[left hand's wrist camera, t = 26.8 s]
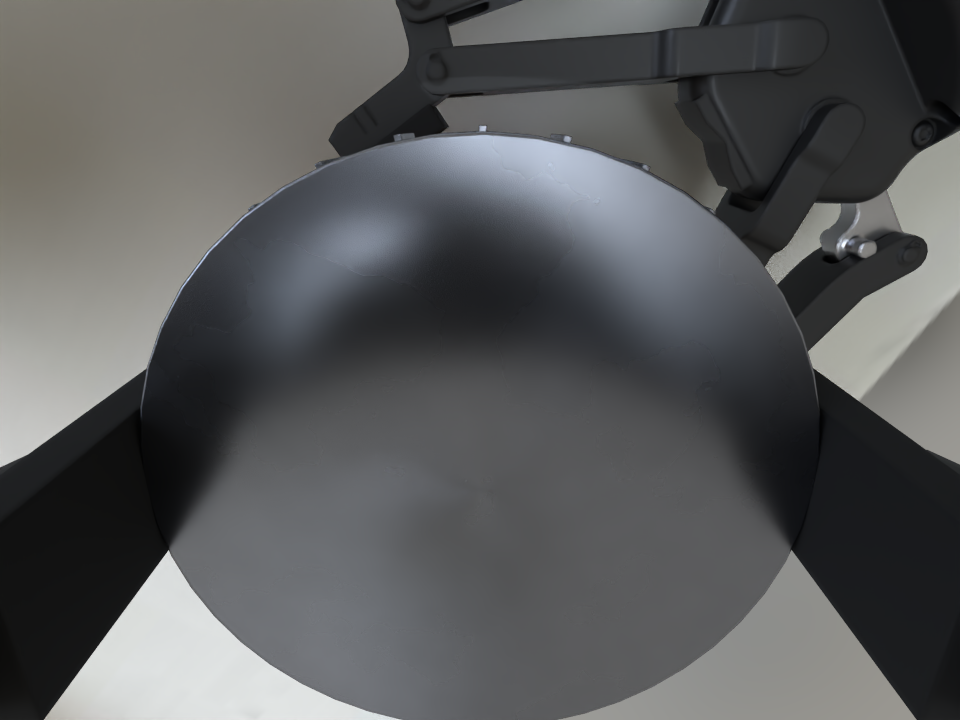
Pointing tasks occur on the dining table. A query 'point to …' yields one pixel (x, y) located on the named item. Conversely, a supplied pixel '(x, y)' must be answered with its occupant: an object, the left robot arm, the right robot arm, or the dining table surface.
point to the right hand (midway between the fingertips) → (384, 364)
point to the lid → (480, 428)
